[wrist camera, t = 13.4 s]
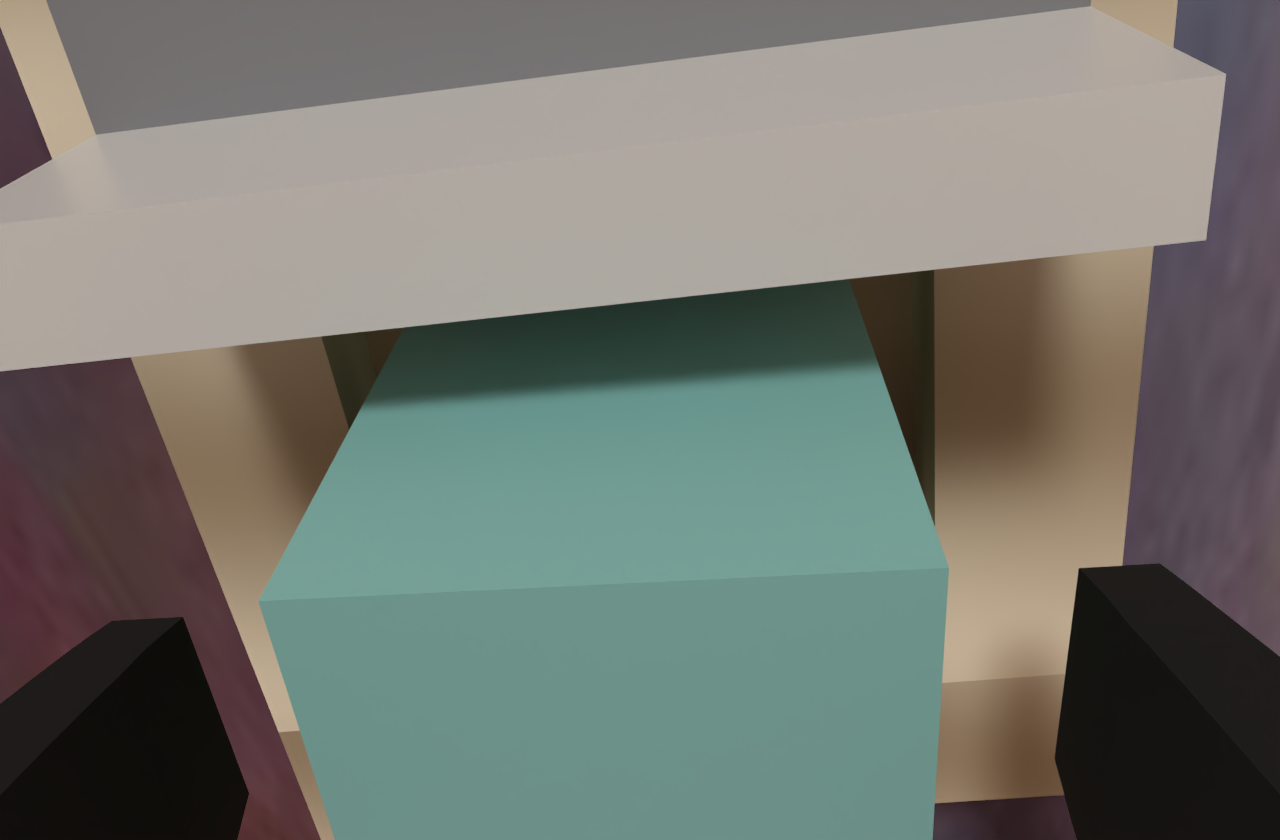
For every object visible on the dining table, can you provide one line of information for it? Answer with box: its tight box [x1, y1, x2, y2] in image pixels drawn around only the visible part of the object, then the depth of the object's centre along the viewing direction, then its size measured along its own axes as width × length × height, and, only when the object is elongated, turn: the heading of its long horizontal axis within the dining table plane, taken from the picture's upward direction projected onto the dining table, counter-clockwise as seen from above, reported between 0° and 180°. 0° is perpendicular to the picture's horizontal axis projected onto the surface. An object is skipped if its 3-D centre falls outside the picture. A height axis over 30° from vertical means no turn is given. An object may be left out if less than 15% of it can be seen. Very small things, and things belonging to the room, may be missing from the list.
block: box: [258, 279, 949, 840], centre depth 10 cm, size 4×4×6 cm
